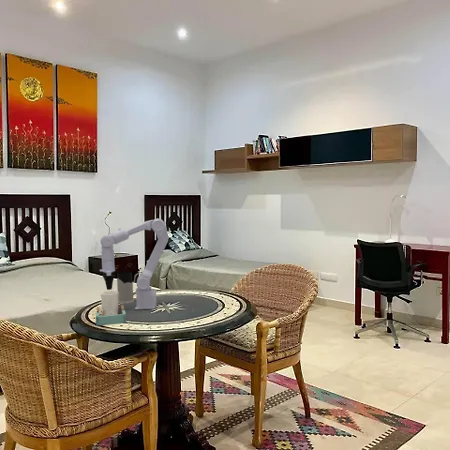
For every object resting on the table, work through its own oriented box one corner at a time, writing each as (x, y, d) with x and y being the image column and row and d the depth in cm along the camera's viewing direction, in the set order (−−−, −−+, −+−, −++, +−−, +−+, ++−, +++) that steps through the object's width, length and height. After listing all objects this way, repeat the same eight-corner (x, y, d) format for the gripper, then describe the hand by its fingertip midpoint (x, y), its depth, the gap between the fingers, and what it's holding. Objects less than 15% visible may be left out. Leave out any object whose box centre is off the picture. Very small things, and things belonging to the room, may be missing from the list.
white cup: (101, 317, 201) (100, 295, 201) (102, 312, 209) (101, 291, 208) (119, 315, 203) (118, 294, 202) (119, 311, 210) (118, 290, 210)
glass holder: (114, 301, 232) (113, 273, 231) (139, 297, 241) (138, 269, 240) (121, 304, 225) (120, 275, 224) (146, 300, 234) (145, 271, 233)
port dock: (125, 317, 198) (125, 310, 198) (126, 322, 190) (125, 314, 190) (96, 320, 195) (95, 312, 195) (96, 325, 187) (95, 317, 187)
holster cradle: (123, 311, 211) (123, 304, 211) (124, 315, 203) (124, 308, 203) (97, 313, 208) (96, 307, 208) (96, 317, 200) (96, 311, 200)
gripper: (99, 258, 219) (100, 286, 220) (99, 262, 205) (100, 291, 206) (114, 258, 221) (115, 285, 222) (115, 261, 207) (116, 290, 208)
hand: (109, 288), depth 214 cm, fingers open, 6 cm apart
